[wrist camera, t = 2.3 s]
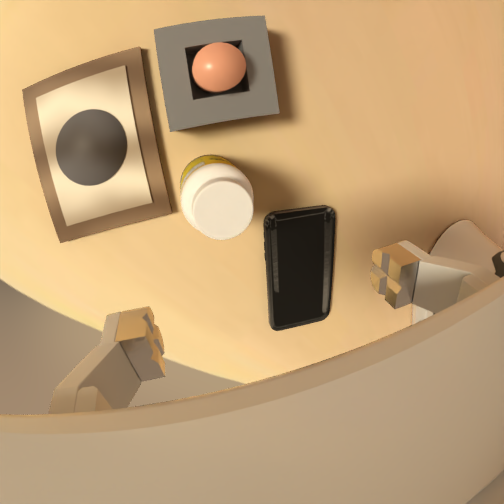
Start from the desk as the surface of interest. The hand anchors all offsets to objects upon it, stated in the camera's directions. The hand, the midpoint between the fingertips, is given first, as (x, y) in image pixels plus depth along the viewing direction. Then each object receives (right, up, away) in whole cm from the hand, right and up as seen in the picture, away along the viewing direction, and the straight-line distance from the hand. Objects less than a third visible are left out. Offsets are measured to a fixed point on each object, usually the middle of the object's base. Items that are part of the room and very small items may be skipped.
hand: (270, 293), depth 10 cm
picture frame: (-15, +11, +14) cm, 23 cm away
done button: (-4, +16, +12) cm, 21 cm away
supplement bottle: (-5, +8, +18) cm, 20 cm away
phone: (+5, -1, +25) cm, 25 cm away
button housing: (-4, +17, +13) cm, 22 cm away
